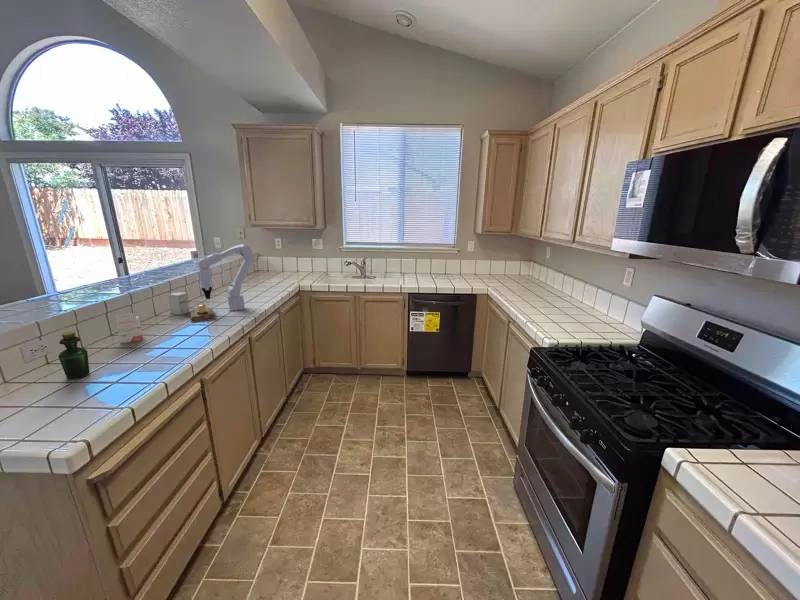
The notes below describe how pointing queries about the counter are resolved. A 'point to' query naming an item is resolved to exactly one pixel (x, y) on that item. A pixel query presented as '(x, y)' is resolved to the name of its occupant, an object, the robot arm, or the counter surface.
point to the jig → (202, 315)
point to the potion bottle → (73, 357)
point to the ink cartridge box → (128, 328)
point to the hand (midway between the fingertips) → (208, 298)
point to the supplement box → (178, 303)
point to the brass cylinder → (202, 309)
